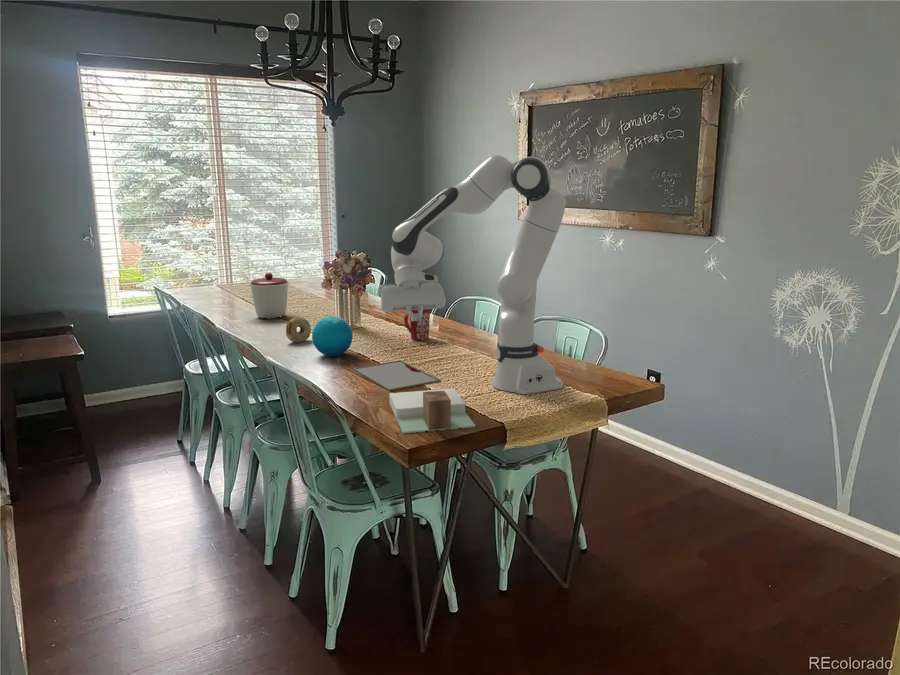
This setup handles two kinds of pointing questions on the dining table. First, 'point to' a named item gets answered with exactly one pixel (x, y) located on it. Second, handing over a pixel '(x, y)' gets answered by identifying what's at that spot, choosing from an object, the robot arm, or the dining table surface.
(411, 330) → the mug
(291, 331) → the stone disc
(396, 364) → the picture frame
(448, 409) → the walnut block
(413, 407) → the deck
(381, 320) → the dining table surface
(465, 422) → the mat
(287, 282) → the canister
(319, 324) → the decorative orb
